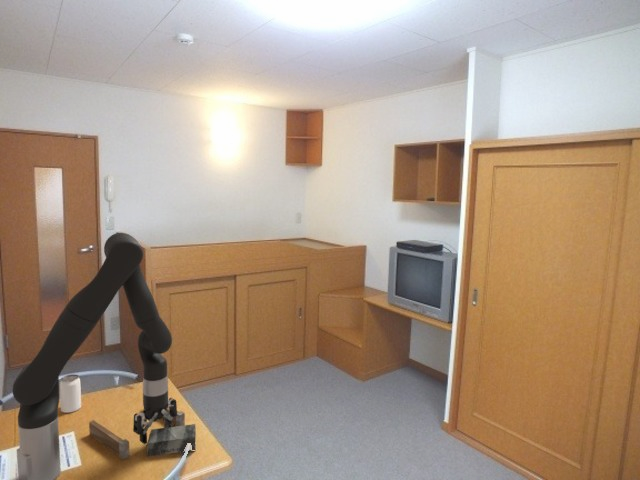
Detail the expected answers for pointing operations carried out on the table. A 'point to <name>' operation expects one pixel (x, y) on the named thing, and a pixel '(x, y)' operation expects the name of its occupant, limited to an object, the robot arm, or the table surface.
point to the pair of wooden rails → (119, 444)
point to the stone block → (171, 440)
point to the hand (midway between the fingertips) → (156, 436)
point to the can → (70, 393)
